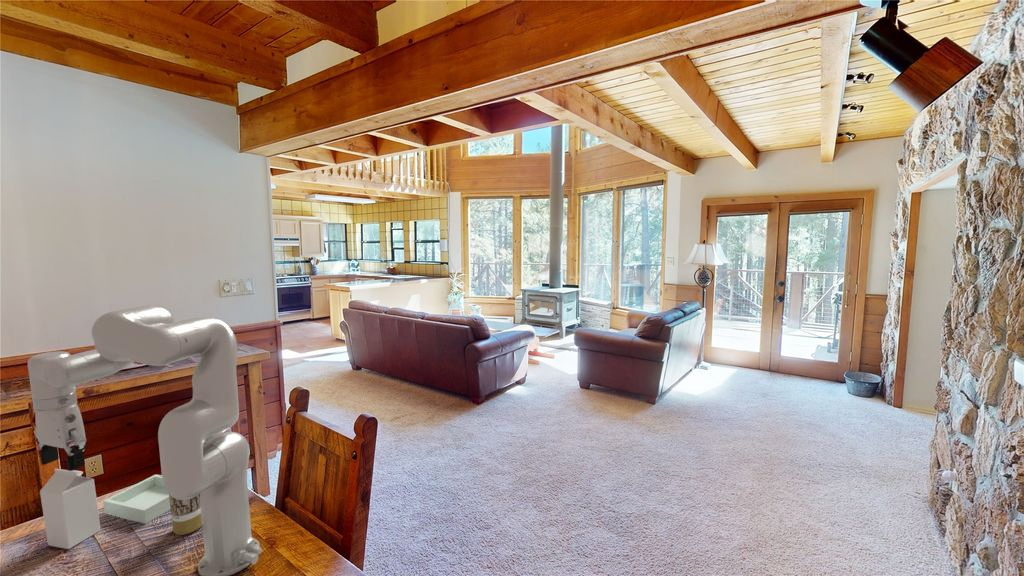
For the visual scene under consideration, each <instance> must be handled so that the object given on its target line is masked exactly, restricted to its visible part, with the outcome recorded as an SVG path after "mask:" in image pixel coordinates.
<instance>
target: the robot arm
mask: <svg viewBox="0 0 1024 576" xmlns="http://www.w3.org/2000/svg"><path fill="white" fill-rule="evenodd" d="M91 337H92V340H93V344H94V345H93V346H94V348H95V349H91V350H86V351H82V352H78V353H73V354H70V352H68V351H47V352H42V353H38V354H34V355H32V356H31V357H30V358H29V359H28V360H27V371H28V376H29V377H28V378H29V386H30V392H31V400H32V408H33V412H34V413H35V414H34V415H35V417H34V418H35V429H34V430H33V433H34V436H35V441H36V443H37V444H38V446H37V447H38V448H37V449H38V450H39V455H40V463H41V465H43V466H45V465H47V464H50V463H54V462H56V461H58V460H59V459H60V455H59V448H60V449H64V451H65V452H66V454H67V455H66V456H65V458H66V466H67V470H68V471H73V470H76V469H79V468H81V467H84V466H85V465H86V462H85V453H84V451H85V447H86V443H87V437H86V432H85V430H86V429H85V425H84V422H83V417H82V413H81V410H80V407H79V406H78V398H77V391H76V389H77V388H76V386H79V385H82V384H85V383H88V382H89V383H90V382H92V381H95V380H98V379H103V378H105V377H109V376H112V375H115V374H116V373H118V372H120V371H122V370H123V369H125V368H126V367H127V368H128V367H129V366H130V365H132V364H133V363H134V362H137V363H139V364H141V365H142V364H143V365H147V366H151V367H152V366H153V367H161V366H167V365H170V364H173V363H176V362H180V361H183V360H186V359H190V358H192V357H196V356H199V359H198V362H197V363H196V365H195V367H194V370H193V373H192V379H191V386H192V398H191V399H190V401H188V402H185V403H184V404H182V405H179V406H177V407H175V408H173V409H172V410H170V411H168V413H166V414H165V415H164V417H162V420H161V421H160V424H159V425H158V426H159V427H158V432H157V441H158V448H159V449H158V450H159V458H160V459H159V460H160V468H161V469H160V470H161V475H162V479H163V483H164V486H165V488H166V490H167V492H168V493H169V494H170V495H171V496H172V497H173V498H175V499H178V500H187V499H191V498H193V497H195V496H197V495H199V494H200V508H201V519H202V526H201V527H202V536H203V539H202V540H203V547H204V555H203V556H202V557H201V558H200V560H199V562H198V565H197V570H198V574H199V575H200V576H232V575H234V574H237V573H239V572H241V571H242V570H243V569H245V568H247V567H248V566H250V565H255V564H256V563H258V561H259V555H260V554H262V552H263V548H262V547H261V545H260V542H259V541H258V539H256V538H255V537H253V536H252V526H251V514H250V504H249V503H250V502H249V501H250V500H249V489H248V488H249V487H248V468H249V467H248V466H249V460H250V444H249V443H248V440H247V438H246V437H245V436H243V434H241V433H239V432H235V431H227V430H229V429H231V428H232V427H233V426H234V425H236V423H237V422H238V420H239V416H240V403H239V390H238V388H239V386H238V379H237V378H238V377H237V362H238V361H237V360H238V342H237V337H236V334H235V332H234V331H233V330H232V328H231V326H229V325H228V324H227V323H226V322H224V321H223V320H221V319H218V318H216V317H212V316H203V317H202V316H201V317H195V318H188V319H184V320H180V321H175V319H174V316H173V314H172V313H171V311H169V310H168V309H166V308H164V307H162V306H157V305H143V306H137V307H132V308H126V309H118V310H114V311H110V312H107V313H104V314H102V315H100V316H99V317H98V318H96V320H95V321H94V322H93V325H92V328H91ZM73 446H74V447H73ZM71 447H73V448H71Z"/></svg>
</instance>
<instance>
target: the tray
mask: <svg viewBox="0 0 1024 576" xmlns="http://www.w3.org/2000/svg"><path fill="white" fill-rule="evenodd" d="M160 476H162V474H153V475H152V476H150V477H147V478H146V479H144V480H142V481H139V482H138V483H135V484H133V485H132V486H129V487H128V488H126V489H123V490H122V491H120V492H118V493H115V494H113V495H112V496H110V497H108V498H105V499H104V500H103V501H102V503H103V510H104V512H103V513H104V514H105V515H107V514H108V516H111V515H112V517H115V516H116V518H119V517H120V519H124V520H128V521H132V522H136V523H141V524H145V525H147V524H149V523H150V522H151V521H153V520H155V519H157V518H158V517H160V516H162V515H164V514H165V513H167V512H168V511H171V508H170V499H169V493H168V492H167V490H166V488H165V486H164V483H163V479H162V477H160ZM152 479H153V480H152ZM149 480H150V481H149Z"/></svg>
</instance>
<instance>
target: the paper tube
mask: <svg viewBox="0 0 1024 576" xmlns="http://www.w3.org/2000/svg"><path fill="white" fill-rule="evenodd" d="M169 499H170V508H171V509H170V515H171V517H170V518H171V524H172V531H173V533H174V534H175V535H178V536H183V535H188V534H191V533H194V532H196V531H197V530H199V529H200V528H201V527H202V519H201V508H200V494H199V495H197V496H195V497H193V498H191V499H187V500H178V499H175V498H173V497H172V496H171V495H170V494H169Z"/></svg>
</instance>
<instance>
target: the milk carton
mask: <svg viewBox="0 0 1024 576" xmlns="http://www.w3.org/2000/svg"><path fill="white" fill-rule="evenodd" d="M83 474H84V472H83V471H81V470H76V469H74V470H72V471H68V469H61V468H54V474H53V475H51V477H50V478H49V480H48V481H47V482H46V483H45V484H44V486H43V487H42V488H40V490H39V495H40V501H41V508H42V514H43V521H44V528H45V535H46V540H47V541H46V542H47V546H51V547H56V548H61V549H67V550H70V549H72V548H73V547H75V546H76V545H77V546H78V545H79V544H80V543H82V542H84V541H85V540H87V539H89V538H91V537H92V536H94V535H95V534H96V533H99V532H100V531H101V530H102V529H101V522H100V516H99V508H98V507H99V506H98V501H97V500H98V499H97V493H96V492H97V491H96V485H95V478H91V477H86V476H82V475H83Z"/></svg>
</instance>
